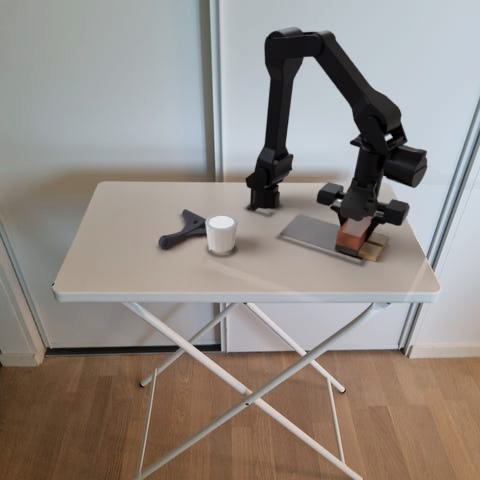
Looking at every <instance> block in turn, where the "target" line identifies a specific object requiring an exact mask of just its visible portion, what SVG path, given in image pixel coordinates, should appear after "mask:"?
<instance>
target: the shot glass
mask: <svg viewBox="0 0 480 480" xmlns="http://www.w3.org/2000/svg"><path fill="white" fill-rule="evenodd" d="M205 219H206V221H205V224H206V228H205V229H206V231H207V234H206V238H207V245H208V246H207V247H208V251H211V250H212V251H214V252H217V253H225V252H230V251H231V250H233V249H234V247H235V242H236V237H237V229H238V227H237V226H238V220H237V219H236V218H235V217H234V216H232V215H229V214H223V213H220V214H219V213H217V214H213V215H210V216H209V217H207V218H205Z"/></svg>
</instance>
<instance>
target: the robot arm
mask: <svg viewBox="0 0 480 480" xmlns="http://www.w3.org/2000/svg"><path fill="white" fill-rule="evenodd" d="M263 49H264V50H263V52H264V53H263V54H264V65H265V68H266V70H267V73H268V75H269V76H268V77H269V88H268V89H269V90H268V99H267V101H268V102H267V112H266V123H265V133H264V143H263V146H262V149H261V151H260V152H259V154H258V156H257V158H256V162H255V165H254V171H253V172H252V173H250V174H249V175H248V176H247V177H245V178H244V179H245V180H244V181H245V185H246V187H247V188H248V189H249V190H250V196H249V197H250V199H249V201H250V202H249V204H248V205H247V206H246V209H247V210H250V211H252V212H256V211H257V210H258V209H261V210H263V209H264V210H267V209H269V210H276V209H277V208H278V206H279V205H280V199H281V198H280V197H281V192H280V191H279V187H280V185H279V184H280V183H283V182H284V180H285V178H287V177H288V176H289V175H290V172H292V171H293V160H294V154H293V153H289V150H288V148H287V137H288V131H289V130H288V129H289V122H290V114H291V113H290V112H291V106H292V105H291V104H292V97H293V88H294V81H295V78H296V76H297V74H298V73H299V70H301V69H300V68H301V67H302V65H303V62H304V58H313V59H314V60H315V61H316V62H317V64H318V65H319V66H320V68H321V69H322V70H323V72H324V74H325V75H326V76H327V77H328V79H329V80H330V81H331V82H332V84H333V85H334V87H335V88H336V89H337V90H338V91H339V93H340V95H341V96H342V97H343V98H344V99H345V101H346V102H347V104H348V105H349V107H350V109H351V113H352V120H353V122H354V124H355V126H356V128H357V131H359V134H358V135H357V136H356V137H354V139H351V140H350V141H349V144H350V145H351V146H354V147H357V148H358V153H357V158H356V163H355V167H354V168H355V169H354V172H353V176H352V178H351V181H350V185H349V186H348V189H347V190H346V192H344V190H345V188H344V185H341V184H337V183H333V182H330V181H328V182H327V183H325V184H324V185H323V186H322V187H321V188H320V189H319V190H318V192H317V194H316V203H317V204H318V205H323V206H327V207H329V209H330V211H333V212H334V213H336V215H337V218H338V221H339V226H340V227H342V226H343V224H344V223H345V222H346V221H347V220H348V218H350V219H353V220H354V221H361V220H363V218H364V217H368V216H370V217H373V218H372V219H371V223H370V226H369V229H368V231H367V234H366V237H365V242H367V240H368V239H369V237H370V236H371V234H372V233H373V232H375V230H376V228H377V227H378V226H380V225H385V224H389V225H393V226H396V227H400V226H402V225H403V223H404V222H405V220H406V218H407V217H408V216H409V212H410V209H411V206H410V204H409V202H405V201H402V200H398V199H394V198H392V199H390V201H389V202H386V201H382V202H381V201H378V197H379V196H380V189H381V187H382V182H383V179H384V177H385V179H386V180H388V181H392V182H395V183H398V184H401V185H404V186H405V187H409V188H412V189H416V188H417V187H418V186H419V185H420V183H421V182H422V181H423V179H424V177H425V175H426V172H427V169H428V157H427V155H428V150H426V149H422V148H415V147H412V146H409V145H406V143H408V138H407V135H406V131H405V129H404V127H403V124H402V116H403V115H402V111H401V109H400V107H399V106H398V105H397V104H396V103H395V102H393V100H392V99H391V98H390V97H388V96H387V95H385V94H384V93H382V92H380V91H379V90H376V89H375V88H374V87H373V86H372V85H371V84H370V83H369V81H368V80H367V79H366V78H365V76H364V75H363V74H362V72H361V70H359V69H358V67H357V66H356V65H355V63H354V61H353V60H351V58H350V56H349V55H348V54H347V53H346V51H345V50H344V48H342V46H341V44H340V43H339V42H338V41H337V37H336V35H335V34H334V32H333V31H330V30H328V29H327V30H322V31H313V30H312V31H303V30H302V29H301V28H300V27H297V26H290V27H286V28H281V29H277V30H274V31H271V32H270V33H269V34H268V35H267V36H266V37H265V39H264V46H263ZM389 135H390V136H391V138H389V139H386V137H388V136H389Z"/></svg>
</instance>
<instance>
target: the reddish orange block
mask: <svg viewBox="0 0 480 480" xmlns="http://www.w3.org/2000/svg"><path fill="white" fill-rule="evenodd" d="M372 218H373V217H370V216H368V217H364V218H363V220H361V221H354V220H353V219H350V218H348V220H347V221H346V222H345V223H344V224H343V226H342V227H341V228H340V229H339V231H338V234H337V239H336V245H335V250H338V251H341V252H344V253H347V254H351V255H354V256H357V254H358V252H359V249H360V248H361V247H362V245H363V244H364V242H365V237H366V234H367V231H368V229H369V226H370V223H371V219H372Z"/></svg>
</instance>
